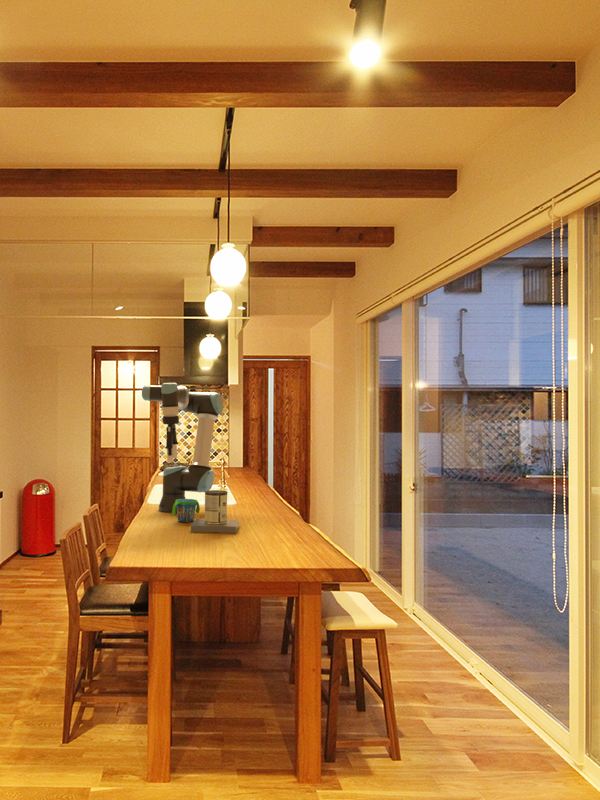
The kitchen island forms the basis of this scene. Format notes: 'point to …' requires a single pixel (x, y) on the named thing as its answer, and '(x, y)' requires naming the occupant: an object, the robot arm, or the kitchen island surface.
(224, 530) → the slate plinth
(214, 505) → the coffee can
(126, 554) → the kitchen island surface
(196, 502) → the snack cup
